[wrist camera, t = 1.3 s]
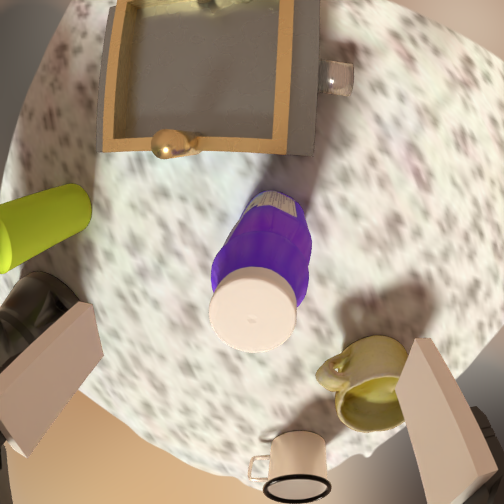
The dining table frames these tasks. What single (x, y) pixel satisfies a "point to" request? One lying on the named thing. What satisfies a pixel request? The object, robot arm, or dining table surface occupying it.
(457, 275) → the dining table surface
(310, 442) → the mug
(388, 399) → the mug
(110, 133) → the grey and tan box
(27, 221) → the soap dispenser
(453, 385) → the robot arm
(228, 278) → the bottle
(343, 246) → the dining table surface
